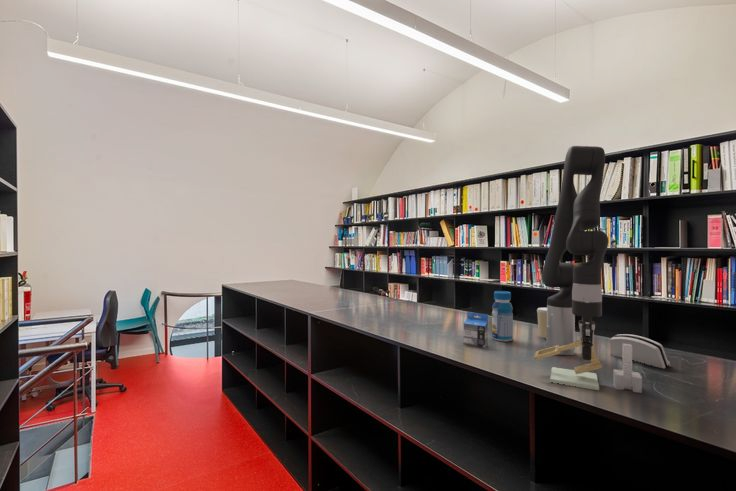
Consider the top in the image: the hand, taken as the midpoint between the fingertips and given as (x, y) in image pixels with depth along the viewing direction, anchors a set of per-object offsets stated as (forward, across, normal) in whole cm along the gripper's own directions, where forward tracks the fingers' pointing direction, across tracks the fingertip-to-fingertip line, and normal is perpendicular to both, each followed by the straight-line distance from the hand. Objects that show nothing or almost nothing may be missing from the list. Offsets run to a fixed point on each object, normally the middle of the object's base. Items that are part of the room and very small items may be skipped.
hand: (586, 358), depth 108 cm
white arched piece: (+7, -32, +16) cm, 36 cm away
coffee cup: (+7, -54, -12) cm, 56 cm away
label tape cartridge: (+7, -25, -37) cm, 45 cm away
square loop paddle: (+5, 0, -3) cm, 6 cm away
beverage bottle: (+7, -39, -29) cm, 49 cm away
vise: (+7, -3, +10) cm, 12 cm away
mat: (+7, 0, -3) cm, 7 cm away
